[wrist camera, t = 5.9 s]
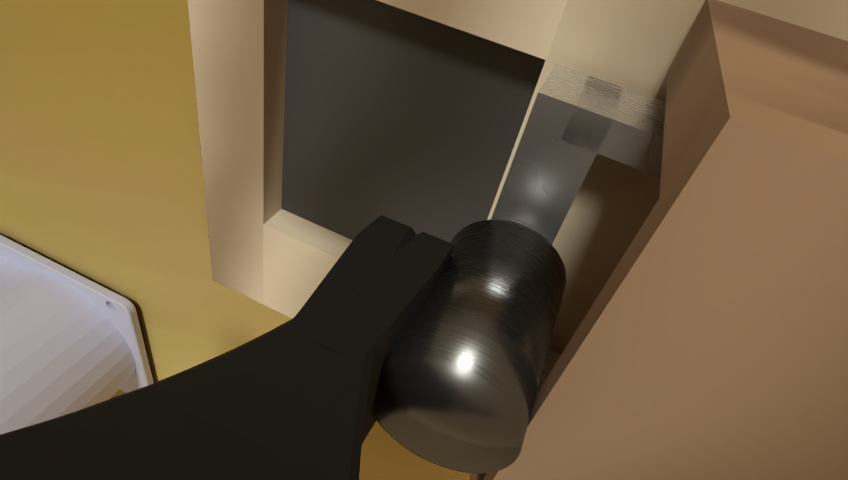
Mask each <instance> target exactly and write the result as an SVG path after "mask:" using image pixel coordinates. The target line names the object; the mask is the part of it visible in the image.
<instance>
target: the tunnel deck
mask: <svg viewBox="0 0 848 480" xmlns="http://www.w3.org/2000/svg"><path fill="white" fill-rule="evenodd" d="M188 9H189V20H190V32H191V43H192V54H193V65H194V76H195V87H196V98H197V110H198V121H199V132H200V143H201V154H202V165H203V176H204V187H205V199H206V210H207V221H208V232H209V243H210V254H211V265H212V277H213V280H214V281H216V282H218V283H220V284H222V285H224V286H226V287H228V288H230V289H232V290H234V291H236V292H238V293H241V294H243V295H245V296H247V297H249V298H251V299H253V300H255V301H257V302H259V303H261V304H263V305H265V306H267V307H270V308H272V309H274V310H276V311H278V312H280V313H282V314H284V315H286V316H288V317H290V318H292V319H293V318H294V317H295V316H296V314H297V313H298V312H299V311H300V310H301V308H302V307H303V306H304V304H305V303H306V302H307V300H308V299H309V298H310V296H311V295H312V294H313V292H314V291H315V290H316V288H317V287H318V286H319V284H320V283H321V282H322V280H323V279H324V278H325V276H326V275H327V274H328V272H329V271H330V270H331V268H332V267H333V266H334V264H335V263H336V262H337V260H338V259H339V258H340V256H341V255H342V254H343V252H344V251H345V250H346V249H347V247H348V246H349V245H350V243H351V242H352V241H353V240H354V238H355V237H356V236H357V235H358V234H359V233H360V232H361V231H362V230H363V229H364V228H365V227H367V226H368V225H369V224H370V223H371V222H373V221H374V220H375V219H377V218H378V217H379V216H381V215H382V216H385V217H387V218H390V219H392V220H395V221H397V222H400V223H402V224H405V225H407V226H410V227H412V228H413V230H414V232H415V233H416V234H419V233H421V232H425V233H427V234H430V235H432V236H435V237H437V238H440V239H442V240H445V241H447V242H451V241H452V239H453V237H454V236H455V235H456V234H457V233H458V232H459V231H460V230H461V229H463V228H464V227H466V226H468V225H470V224H472V223H475V222H478V221H482V220H491V218H492V215H493V212H494V210H495V207H496V204H497V202H498V199H499V196H500V193H501V191H502V188H503V185H504V183H505V180H506V177H507V175H508V172H509V169H510V167H511V164H512V161H513V159H514V156H515V153H516V151H517V148H518V145H519V143H520V140H521V137H522V134H523V132H524V129H525V126H526V124H527V121H528V118H529V116H530V113H531V110H532V108H533V105H534V102H535V100H536V97H537V94H538V92H539V90H540V89H541V87H542V85H543V84H544V82H545V81H546V79H547V77H548V76H549V74H550V72H551V71H552V69H553V68H554V66H555V64H559V65H562V66H564V67H567V68H570V69H573V70H576V71H579V72H581V73H584V74H587V75H590V76H593V77H596V78H598V79H601V80H604V81H607V82H610V83H613V84H615V85H618V86H621V87H624V88H627V89H630V90H632V91H635V92H638V93H641V94H644V95H647V96H649V97H652V98H655V99H658V100H661V101H664V102H666V107H665V122H664V138H663V153H662V168H661V178H660V177H658V176H655V175H652V174H650V173H647V172H645V171H642V170H639V169H637V168H634V167H631V166H629V165H626V164H623V163H621V162H618V161H615V160H613V159H610V158H607V157H605V156H602V155H600V154H597V155H596V157H595V159H594V161H593V163H592V165H591V167H590V169H589V171H588V173H587V175H586V177H585V179H584V181H583V183H582V185H581V187H580V189H579V191H578V193H577V195H576V197H575V199H574V201H573V203H572V205H571V207H570V209H569V211H568V213H567V215H566V217H565V219H564V221H563V224H562V226H561V228H560V230H559V232H558V234H557V236H556V238H555V240H554V242H553V244H552V246H553V247H554V248H555V249H556V251H557V252H558V254H559V255H560V257H561V259H562V261H563V263H564V267H565V270H566V287H565V291H564V295H563V298H562V302H561V306H560V309H559V313H558V317H557V320H556V324H555V328H554V331H553V335H552V339H551V342H550V346H549V348H550V349H552V350H554V351H556V352H559V353H561V356H560V358H559V359H558V361H557V362H556V364H555V366H554V367H553V369H552V370H551V372H550V374H549V375H548V377H547V378H546V380H545V382H544V383H543V385H542V386H541V388H540V390H539V391H538V393H537V394H536V397H535V401H534V404H533V408H532V412H531V415H530V419H529V423H528V426H527V430H526V434H525V438H524V441H523V445H522V449H521V452H520V454H519V456H518V458H517V459H516V460H515V462H514V463H513V464H511V465H510V466H508V467H507V468H505V469H502V470H500V471H496V472H491V473H471V476H470V479H469V480H848V0H188Z"/></svg>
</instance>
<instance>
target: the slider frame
mask: <svg viewBox="0 0 848 480" xmlns="http://www.w3.org/2000/svg"><path fill="white" fill-rule="evenodd" d="M665 107H666V102H664V101H661V100H658V99H655V98H652V97H649V96H647V95H644V94H641V93H638V92H635V91H632V90H630V89H627V88H624V87H621V86H618V85H615V84H613V83H610V82H607V81H604V80H601V79H598V78H596V77H593V76H590V75H587V74H584V73H581V72H579V71H576V70H573V69H570V68H567V67H564V66H562V65H559V64H555V66H554V68H553V69H552V71H551V72H550V74H549V76H548V77H547V79H546V81H545V82H544V84H543V85H542V87H541V89H540V90H539V92H538V94H537V97H536V100H535V102H534V105H533V108H532V110H531V113H530V116H529V118H528V121H527V124H526V126H525V129H524V132H523V134H522V137H521V140H520V143H519V145H518V148H517V151H516V153H515V156H514V159H513V161H512V164H511V167H510V169H509V172H508V175H507V177H506V180H505V183H504V185H503V188H502V191H501V193H500V196H499V199H498V202H497V204H496V207H495V210H494V212H493V215H492V218H491V220H482V221H478V222H475V223H472V224H470V225H468V226H466V227H464V228H463V229H461V230H460V231H459V232H458V233H457V234H456V235H455V236H454V237H453V239H452V241H451V242H450V243H452V244H454V247H453V251H452V254H451V257H450V258H449V260H448V262H447V264H446V266H445V268H444V269H443V271H442V273H441V275H440V277H439V279H438V280H437V282H436V284H435V286H434V288H433V289H432V291H431V293H430V294H429V296H428V297H427V299H426V300H425V302H424V303H423V305H422V306H421V308H420V309H419V311H418V312H417V314H416V315H415V317H414V318H413V320H412V321H411V323H410V324H409V326H408V327H407V329H406V330H405V332H404V333H403V335H402V336H401V338H400V339H399V341H398V342H397V344H396V345H395V347H394V348H393V350H392V351H391V353H390V354H389V356H388V357H387V359H386V360H385V362H384V363H383V365H382V369H381V374H380V378H379V382H378V386H377V390H376V394H375V399H374V403H373V407H372V411H371V412H372V414H373V415H374V417H375V418H376V420H377V421H378V423H379V424H380V425H381V426H382V427H383V429H384V430H385V431H386V432H387V433H388V434H389V435H390V436H391V437H392V438H394V439H395V440H396V441H397V442H398V443H400V444H401V445H402V446H404V447H405V448H406V449H408V450H409V451H411V452H413V453H414V454H416V455H418V456H419V457H421V458H423V459H425V460H427V461H430V462H432V463H434V464H437V465H439V466H442V467H445V468H448V469H452V470H456V471H460V472H467V473H491V472H496V471H500V470H502V469H505V468H507V467H508V466H510V465H511V464H513V463H514V462H515V460H516V459H517V458H518V456H519V454H520V452H521V449H522V445H523V441H524V438H525V434H526V430H527V426H528V423H529V419H530V415H531V412H532V408H533V404H534V401H535V397H536V394H537V393H538V391H539V390H540V388H541V386H542V385H543V383H544V382H545V380H546V378H547V377H548V375H549V374H550V372H551V370H552V369H553V367H554V366H555V364H556V362H557V361H558V359H559V358H560V356H561V353H559V352H556V351H554V350H552V349H550V348H549V346H550V342H551V339H552V335H553V331H554V328H555V324H556V320H557V317H558V313H559V309H560V306H561V302H562V298H563V295H564V291H565V287H566V270H565V267H564V263H563V261H562V259H561V257H560V255H559V254H558V252H557V251H556V249H555V248H554V247H553V246H552V244H553V242H554V240H555V238H556V236H557V234H558V232H559V230H560V228H561V226H562V224H563V221H564V219H565V217H566V215H567V213H568V211H569V209H570V207H571V205H572V203H573V201H574V199H575V197H576V195H577V193H578V191H579V189H580V187H581V185H582V183H583V181H584V179H585V177H586V175H587V173H588V171H589V169H590V167H591V165H592V163H593V161H594V159H595V157H596V155H597V154H600V155H602V156H605V157H607V158H610V159H613V160H615V161H618V162H621V163H623V164H626V165H629V166H631V167H634V168H637V169H639V170H642V171H645V172H647V173H650V174H652V175H655V176H658V177H660V178H661V168H662V153H663V138H664V122H665Z"/></svg>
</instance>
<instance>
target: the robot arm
mask: <svg viewBox="0 0 848 480" xmlns="http://www.w3.org/2000/svg"><path fill="white" fill-rule="evenodd" d="M453 247H454V244H452V243H450V242H447V241H445V240H442V239H440V238H437V237H435V236H432V235H430V234H427V233H425V232H421V233H419V234H416V233H415V232H414V230H413V228H412V227H410V226H407V225H405V224H402V223H400V222H397V221H395V220H392V219H390V218H387V217H385V216H382V215H381V216H379V217H378V218H377V219H375V220H374V221H373V222H371V223H370V224H369V225H368V226H367V227H365V228H364V229H363V230H362V231H361V232H360V233H359V234H358V235H357V236H356V237H355V238H354V240H353V241H352V242H351V243H350V245H349V246H348V247H347V249H346V250H345V251H344V252H343V254H342V255H341V256H340V258H339V259H338V260H337V262H336V263H335V264H334V266H333V267H332V268H331V270H330V271H329V272H328V274H327V275H326V276H325V278H324V279H323V280H322V282H321V283H320V284H319V286H318V287H317V288H316V290H315V291H314V292H313V294H312V295H311V296H310V298H309V299H308V300H307V302H306V303H305V304H304V306H303V307H302V308H301V310H300V311H299V312H298V313H297V314H296V316H295V317H294V318H293V319H291V320H290V321H288V322H286V323H284V324H282V325H280V326H278V327H277V328H275V329H273V330H271V331H269V332H267V333H265V334H263V335H261V336H259V337H257V338H255V339H253V340H251V341H249V342H247V343H245V344H243V345H241V346H239V347H237V348H235V349H233V350H231V351H228V352H226V353H224V354H222V355H219V356H217V357H215V358H213V359H210V360H208V361H206V362H203V363H201V364H199V365H197V366H194V367H192V368H190V369H188V370H185V371H183V372H180V373H178V374H176V375H173V376H171V377H168V378H166V379H163V380H161V381H158V382H156V383H154V382H153V378H152V374H151V370H150V365H149V361H148V357H147V353H146V349H145V345H144V341H143V336H142V332H141V328H140V324H139V320H138V316H137V312H136V308H135V306H134V305H133V303H132V302H131V301H129V300H128V299H126V298H125V297H123V296H121V295H119V294H117V293H115V292H113V291H111V290H109V289H107V288H105V287H103V286H101V285H99V284H97V283H95V282H93V281H91V280H89V279H87V278H85V277H83V276H81V275H79V274H77V273H75V272H73V271H71V270H69V269H67V268H65V267H63V266H61V265H59V264H57V263H55V262H54V261H52V260H50V259H48V258H46V257H44V256H42V255H40V254H38V253H36V252H34V251H32V250H30V249H28V248H26V247H24V246H22V245H20V244H18V243H16V242H14V241H12V240H10V239H8V238H6V237H4V236H2V235H0V480H359V470H360V456H361V446H362V443H363V441H364V440H365V438H366V436H367V435H368V433H369V431H370V430H371V428H372V426H373V425H374V423H375V422H376V418H375V417H374V415H373V414H372V412H371V411H372V407H373V403H374V399H375V394H376V390H377V386H378V382H379V378H380V374H381V369H382V365H383V363H384V362H385V360H386V359H387V357H388V356H389V354H390V353H391V351H392V350H393V348H394V347H395V345H396V344H397V342H398V341H399V339H400V338H401V336H402V335H403V333H404V332H405V330H406V329H407V327H408V326H409V324H410V323H411V321H412V320H413V318H414V317H415V315H416V314H417V312H418V311H419V309H420V308H421V306H422V305H423V303H424V302H425V300H426V299H427V297H428V296H429V294H430V293H431V291H432V289H433V288H434V286H435V284H436V282H437V280H438V279H439V277H440V275H441V273H442V271H443V269H444V268H445V266H446V264H447V262H448V260H449V258H450V257H451V254H452V251H453ZM119 389H120V390H121V391H123V392H125V394H123V395H120V396H117V397H114V398H111V397H112V396H113V395H114V394H115V393H116V392H117V391H118V390H119ZM110 398H111V399H110Z"/></svg>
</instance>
